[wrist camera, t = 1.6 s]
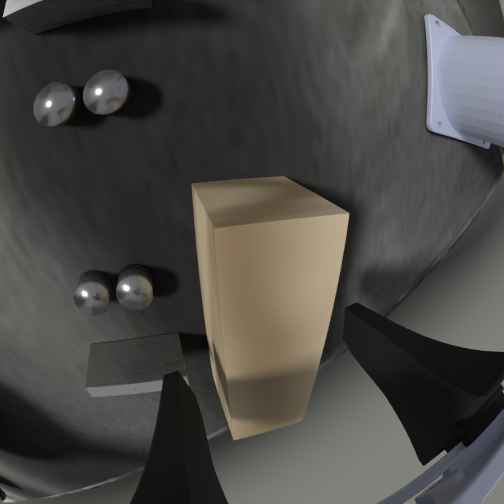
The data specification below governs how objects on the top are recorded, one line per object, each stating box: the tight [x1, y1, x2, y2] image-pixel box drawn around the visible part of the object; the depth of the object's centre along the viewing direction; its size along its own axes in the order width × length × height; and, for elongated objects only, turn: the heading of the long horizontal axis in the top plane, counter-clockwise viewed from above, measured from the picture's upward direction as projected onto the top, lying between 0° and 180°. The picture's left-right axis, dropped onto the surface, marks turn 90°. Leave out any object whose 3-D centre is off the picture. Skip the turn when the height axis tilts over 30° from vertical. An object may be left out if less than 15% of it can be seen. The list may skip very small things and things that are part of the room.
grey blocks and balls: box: [3, 0, 189, 397], centre depth 9 cm, size 5×17×3 cm, turn 0°
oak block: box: [192, 176, 349, 440], centre depth 12 cm, size 4×12×5 cm, turn 0°
